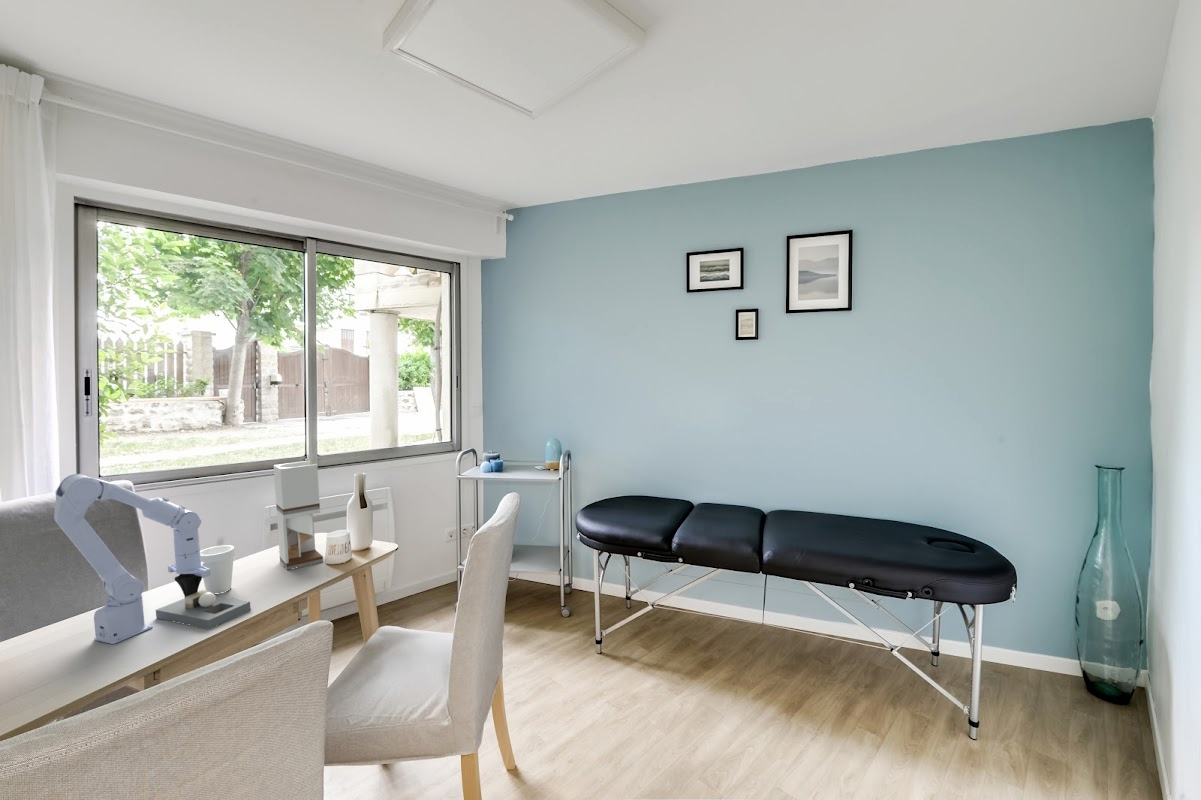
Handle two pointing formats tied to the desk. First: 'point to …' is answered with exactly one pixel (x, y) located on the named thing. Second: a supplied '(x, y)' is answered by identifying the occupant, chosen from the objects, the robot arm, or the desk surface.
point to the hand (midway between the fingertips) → (191, 598)
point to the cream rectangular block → (193, 599)
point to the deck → (204, 612)
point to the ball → (207, 599)
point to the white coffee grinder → (297, 513)
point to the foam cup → (218, 567)
